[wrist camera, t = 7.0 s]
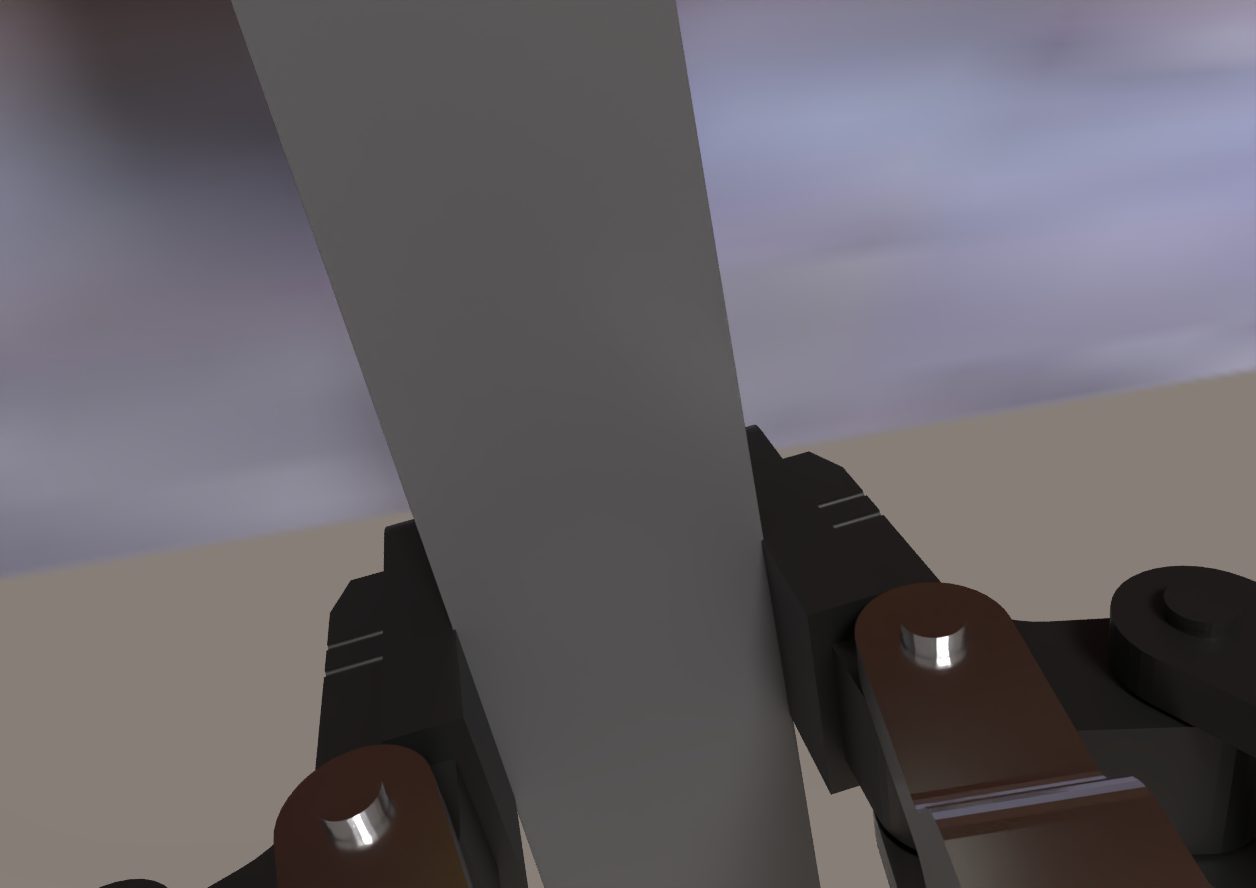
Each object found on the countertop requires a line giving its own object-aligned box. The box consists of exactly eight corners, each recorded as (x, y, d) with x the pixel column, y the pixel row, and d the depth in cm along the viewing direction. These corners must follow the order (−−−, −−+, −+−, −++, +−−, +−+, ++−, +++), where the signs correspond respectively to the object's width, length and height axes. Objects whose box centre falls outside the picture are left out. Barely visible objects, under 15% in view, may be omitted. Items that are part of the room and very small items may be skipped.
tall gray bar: (242, -158, 10) (144, -243, 6) (542, -221, 10) (620, -335, 6) (538, 748, 15) (579, 987, 11) (725, 691, 15) (823, 907, 12)
